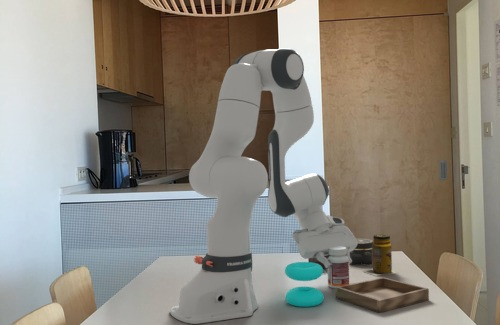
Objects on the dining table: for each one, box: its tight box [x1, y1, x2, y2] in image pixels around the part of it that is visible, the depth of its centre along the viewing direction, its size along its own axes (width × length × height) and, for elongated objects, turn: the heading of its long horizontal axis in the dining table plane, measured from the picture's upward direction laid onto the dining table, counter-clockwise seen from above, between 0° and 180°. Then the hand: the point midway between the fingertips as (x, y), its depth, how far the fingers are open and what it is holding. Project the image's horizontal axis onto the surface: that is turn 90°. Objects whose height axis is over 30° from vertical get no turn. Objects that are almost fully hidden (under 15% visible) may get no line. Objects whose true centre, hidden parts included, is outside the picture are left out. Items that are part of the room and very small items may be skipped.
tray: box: [335, 277, 430, 314], centre depth 140 cm, size 18×16×3 cm
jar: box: [350, 238, 373, 266], centre depth 186 cm, size 10×10×8 cm
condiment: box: [363, 233, 398, 277], centre depth 170 cm, size 7×8×12 cm
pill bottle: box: [327, 246, 350, 289], centre depth 154 cm, size 6×6×11 cm
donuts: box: [284, 261, 325, 308], centre depth 139 cm, size 10×10×10 cm
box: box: [307, 255, 330, 270], centre depth 180 cm, size 6×6×7 cm
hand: (339, 264), depth 154 cm, fingers closed on pill bottle, 6 cm apart
